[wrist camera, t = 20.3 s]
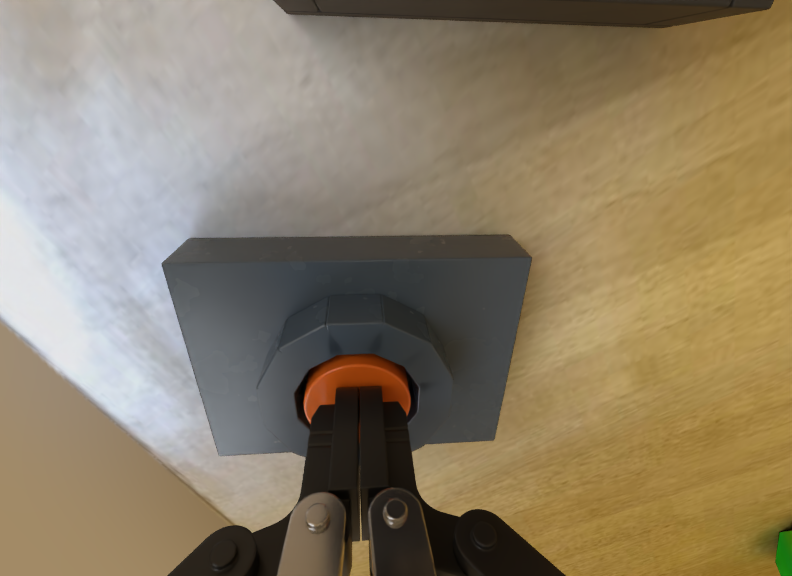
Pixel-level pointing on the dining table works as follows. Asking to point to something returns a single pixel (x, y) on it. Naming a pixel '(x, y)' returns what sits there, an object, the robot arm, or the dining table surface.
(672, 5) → the dock
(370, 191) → the dining table surface
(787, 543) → the apple
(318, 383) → the power button
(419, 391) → the switch box
